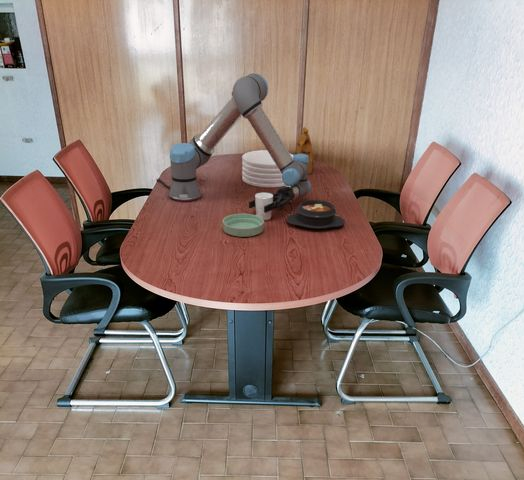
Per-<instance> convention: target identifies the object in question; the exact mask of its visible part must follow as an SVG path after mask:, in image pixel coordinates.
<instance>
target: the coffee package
mask: <svg viewBox="0 0 524 480" xmlns="http://www.w3.org/2000/svg"><path fill="white" fill-rule="evenodd" d="M301 131H302V133H301V134H300V136H299V138H298V139H297V141H296V148H295V154H305V155H307V156H308V157H309V166H308V175H310V174H312V173H313V169H314V168H313V167H314V151H313V145H312V140H311V137H310V134H309V129H308V128H306V127H305V126H304V127H302V128H301Z"/></svg>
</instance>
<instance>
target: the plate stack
mask: <svg viewBox="0 0 524 480" xmlns="http://www.w3.org/2000/svg"><path fill="white" fill-rule="evenodd" d="M290 155H291V156H292V158H293V156H294V155H295V154H292V153H290ZM241 159H242V160H241V165H242V166H241V169H242V171H241V175H242V178H241V180H242V181H243V182H244V183H245V184H247V185H250V186H254V187H259V188H282V187H284V186H286V185H285V184H284V183H283V181H282V173H281V171H280V170H279V168H278V167H277V165H276V163H275V162H274V160H273V159H272V157H271V156H270V154H269V152H268V151H267V149H260V150H259V149H257V150H252V151H248V152H246V153H244V154H242V156H241Z"/></svg>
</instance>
